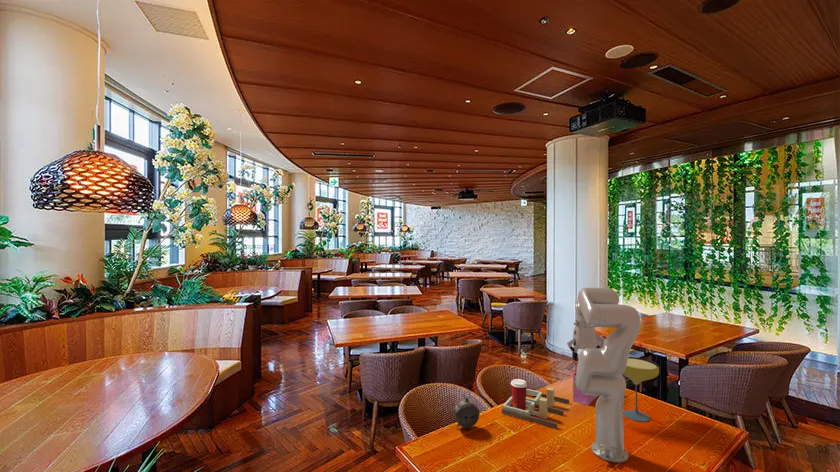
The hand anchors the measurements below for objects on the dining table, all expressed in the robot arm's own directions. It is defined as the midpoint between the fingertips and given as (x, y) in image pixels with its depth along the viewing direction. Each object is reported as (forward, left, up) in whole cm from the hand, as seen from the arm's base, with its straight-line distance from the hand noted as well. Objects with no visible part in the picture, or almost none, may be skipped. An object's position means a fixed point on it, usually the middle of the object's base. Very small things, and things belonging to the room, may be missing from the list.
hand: (584, 359), depth 170 cm
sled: (-16, +23, -25) cm, 38 cm away
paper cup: (-16, +27, -25) cm, 40 cm away
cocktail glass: (+9, -21, -25) cm, 34 cm away
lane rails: (-9, +20, -25) cm, 34 cm away
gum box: (+20, +1, -25) cm, 32 cm away
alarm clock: (-45, +41, -25) cm, 66 cm away
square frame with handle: (-2, +23, -25) cm, 34 cm away
